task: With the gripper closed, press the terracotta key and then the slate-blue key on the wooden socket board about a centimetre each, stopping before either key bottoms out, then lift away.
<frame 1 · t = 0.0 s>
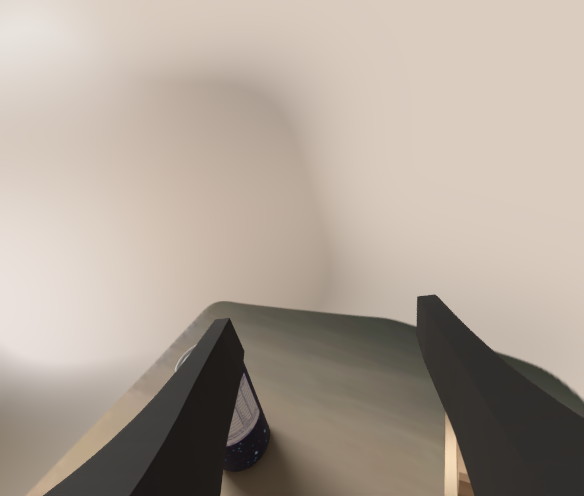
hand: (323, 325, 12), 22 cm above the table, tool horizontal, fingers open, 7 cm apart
beverage can: (244, 445, 31), on the table
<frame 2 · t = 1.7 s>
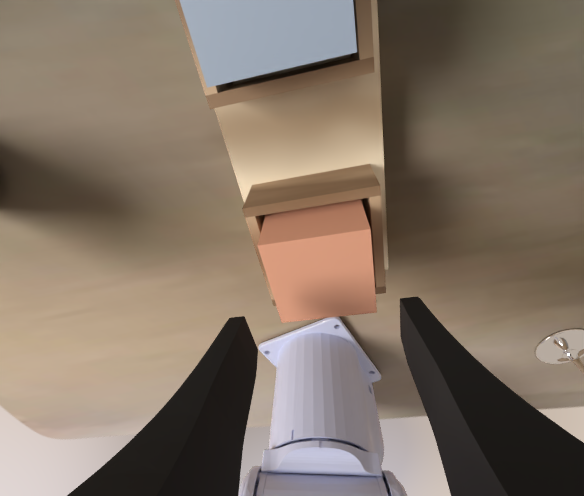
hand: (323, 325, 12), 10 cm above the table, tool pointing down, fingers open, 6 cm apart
terracotta key: (320, 262, 15), point 6 cm above the table, slide at 0.0 cm
wineglass: (562, 344, 26), on the table
wooden socket board: (302, 124, 17), on the table
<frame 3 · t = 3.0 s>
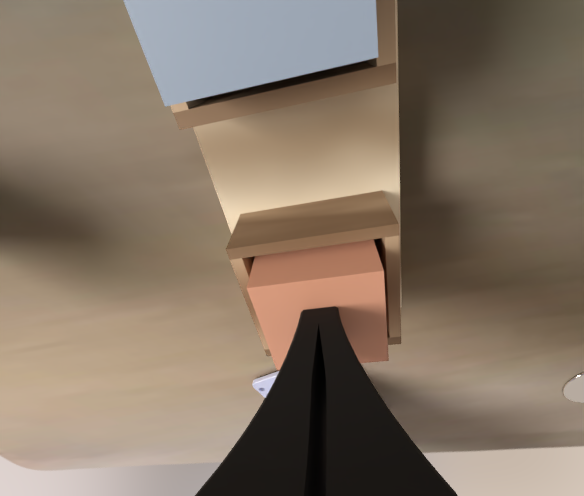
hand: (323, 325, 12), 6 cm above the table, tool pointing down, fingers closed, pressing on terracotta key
terracotta key: (321, 300, 13), point 5 cm above the table, slide at 0.7 cm, touching gripper
wooden socket board: (300, 141, 14), on the table
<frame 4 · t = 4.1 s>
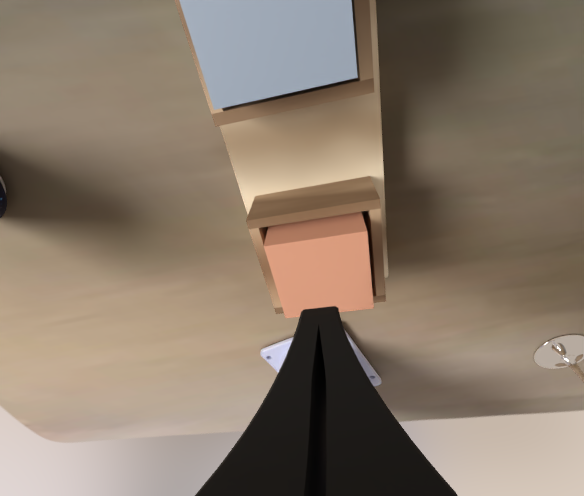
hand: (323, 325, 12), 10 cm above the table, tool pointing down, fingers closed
slate key: (270, 8, 10), point 6 cm above the table, slide at 0.0 cm
terracotta key: (321, 261, 17), point 5 cm above the table, slide at 0.9 cm
wineglass: (560, 349, 27), on the table
wooden socket board: (303, 136, 18), on the table
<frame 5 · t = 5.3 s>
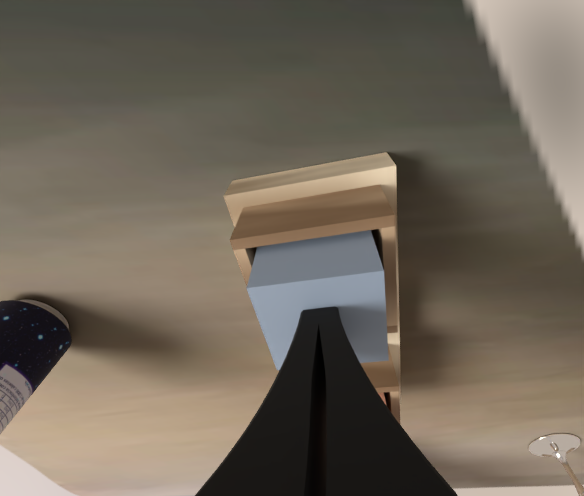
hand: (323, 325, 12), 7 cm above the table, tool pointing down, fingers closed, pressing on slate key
slate key: (321, 300, 13), point 6 cm above the table, slide at 0.1 cm, touching gripper
terracotta key: (347, 416, 20), point 5 cm above the table, slide at 0.9 cm
wineglass: (552, 442, 30), on the table
wooden socket board: (331, 302, 21), on the table
beverage can: (42, 317, 23), on the table
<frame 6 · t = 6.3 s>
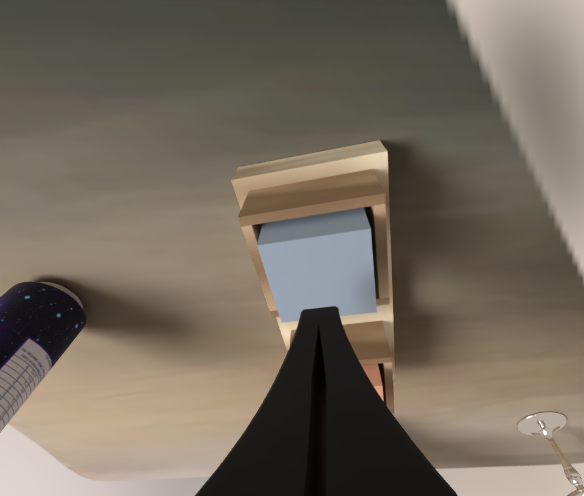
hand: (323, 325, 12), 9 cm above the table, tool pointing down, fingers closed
slate key: (319, 261, 15), point 5 cm above the table, slide at 0.9 cm
terracotta key: (344, 388, 21), point 5 cm above the table, slide at 0.9 cm
wineglass: (539, 421, 31), on the table
wooden socket board: (329, 283, 22), on the table
beverage can: (58, 299, 25), on the table
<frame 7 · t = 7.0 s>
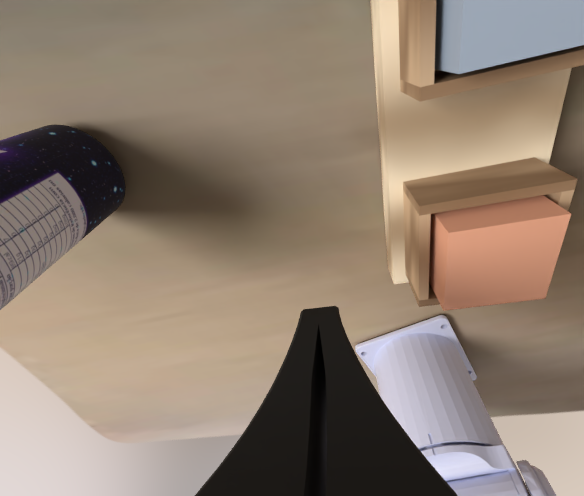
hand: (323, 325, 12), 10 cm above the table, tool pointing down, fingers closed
terracotta key: (484, 249, 16), point 5 cm above the table, slide at 0.9 cm
wooden socket board: (454, 117, 17), on the table
beverage can: (88, 168, 19), on the table
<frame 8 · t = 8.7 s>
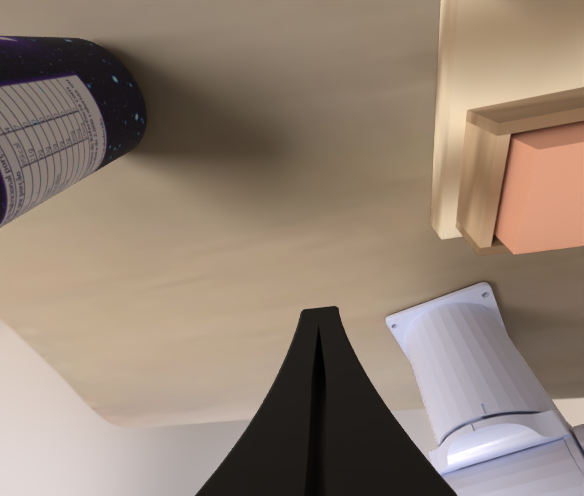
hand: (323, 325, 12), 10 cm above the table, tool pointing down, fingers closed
terracotta key: (564, 183, 14), point 5 cm above the table, slide at 0.9 cm
wooden socket board: (526, 37, 15), on the table
beverage can: (104, 99, 17), on the table
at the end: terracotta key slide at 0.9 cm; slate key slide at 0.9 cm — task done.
